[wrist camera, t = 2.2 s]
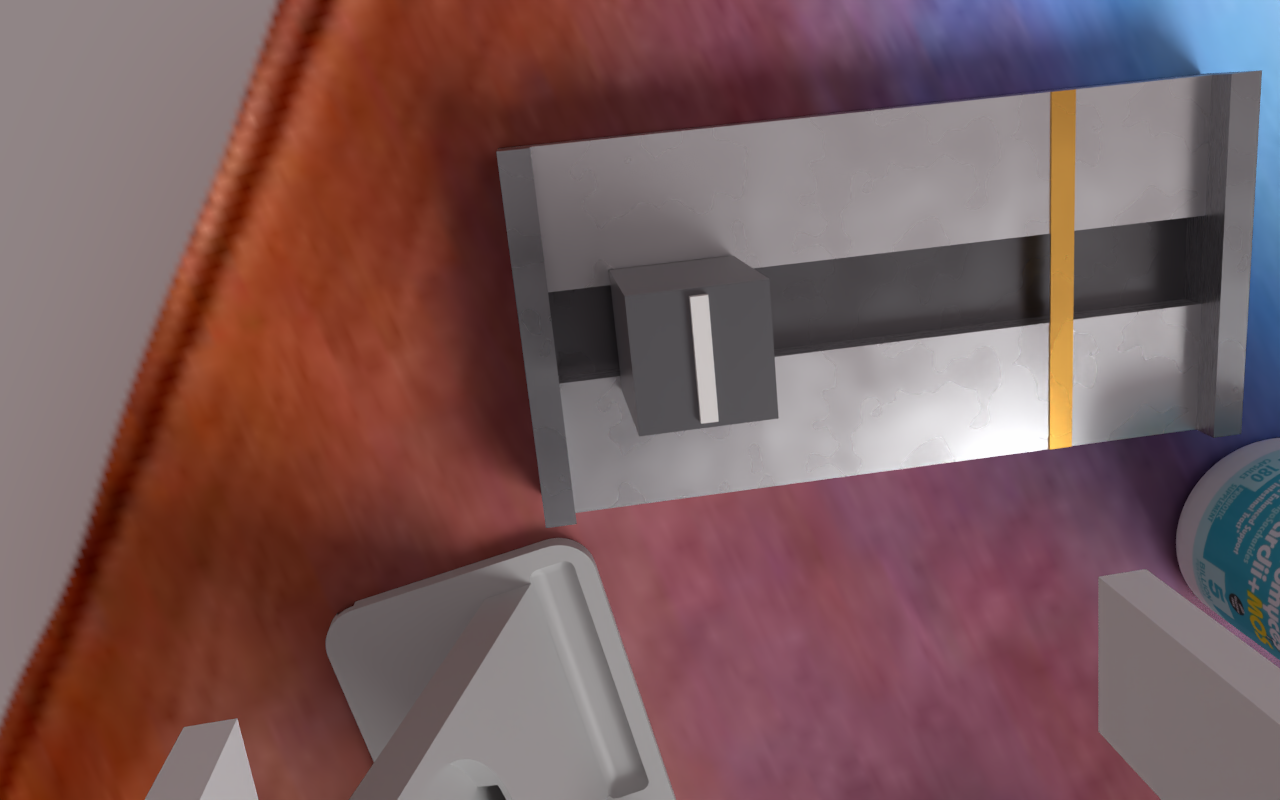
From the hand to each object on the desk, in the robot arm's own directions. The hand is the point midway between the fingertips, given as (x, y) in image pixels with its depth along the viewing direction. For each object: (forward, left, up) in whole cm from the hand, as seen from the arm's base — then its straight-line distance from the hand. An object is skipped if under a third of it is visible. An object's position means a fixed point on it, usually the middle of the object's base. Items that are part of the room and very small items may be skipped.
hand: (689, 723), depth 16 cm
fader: (+3, +2, -20) cm, 20 cm away
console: (+10, +2, -21) cm, 24 cm away
